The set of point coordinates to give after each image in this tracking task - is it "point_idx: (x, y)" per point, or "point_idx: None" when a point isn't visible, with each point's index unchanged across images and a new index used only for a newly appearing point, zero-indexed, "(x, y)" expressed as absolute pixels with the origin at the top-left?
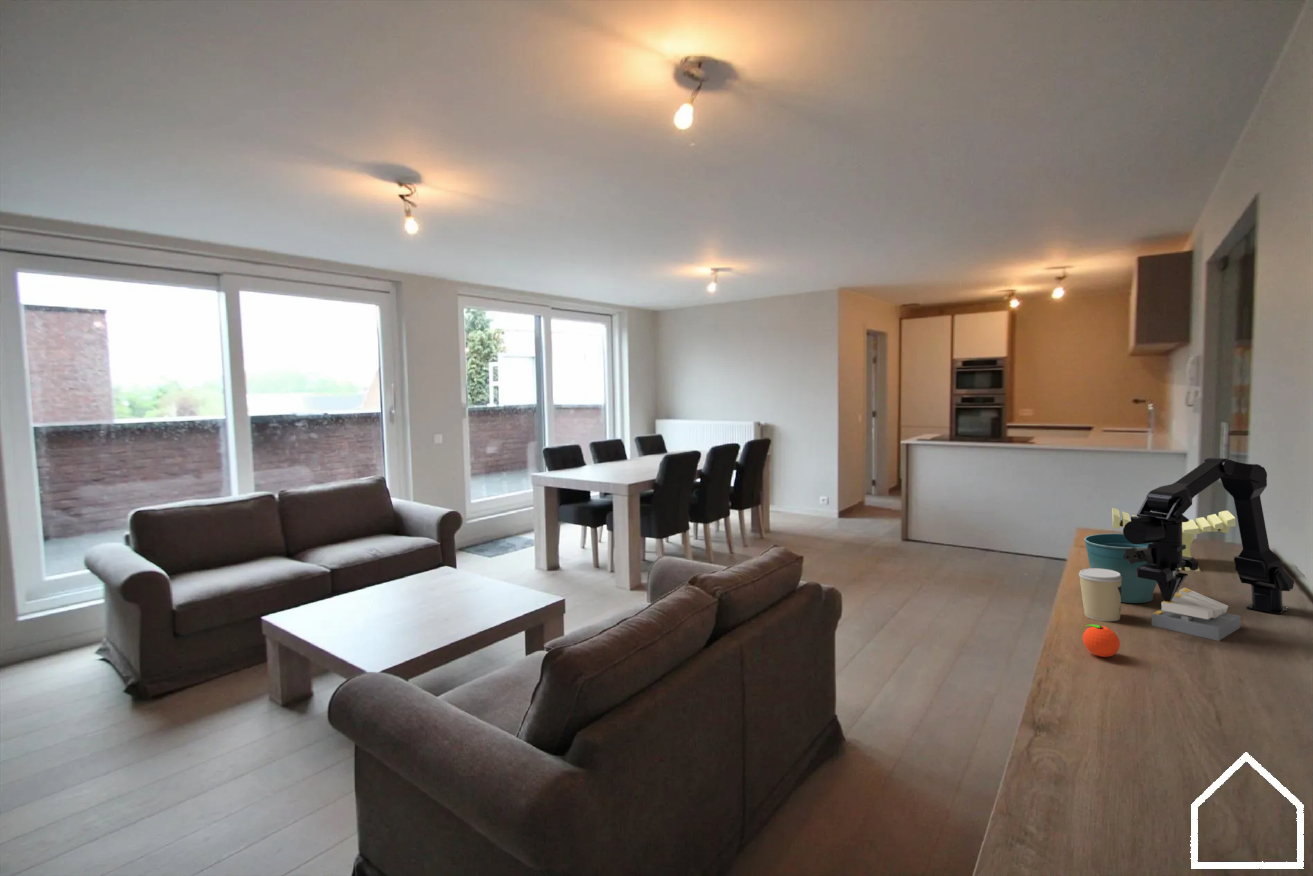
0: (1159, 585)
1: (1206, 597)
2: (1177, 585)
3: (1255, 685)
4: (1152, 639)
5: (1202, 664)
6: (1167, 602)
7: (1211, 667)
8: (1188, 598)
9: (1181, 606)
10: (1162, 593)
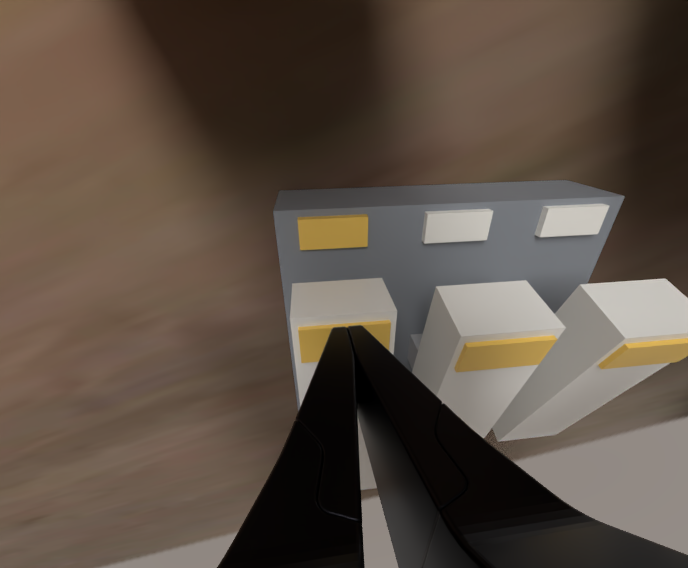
0: (279, 472)
1: (599, 401)
2: (399, 556)
3: (40, 537)
4: (79, 281)
5: (30, 457)
6: (305, 354)
7: (37, 473)
8: (493, 388)
9: None
10: (316, 378)
